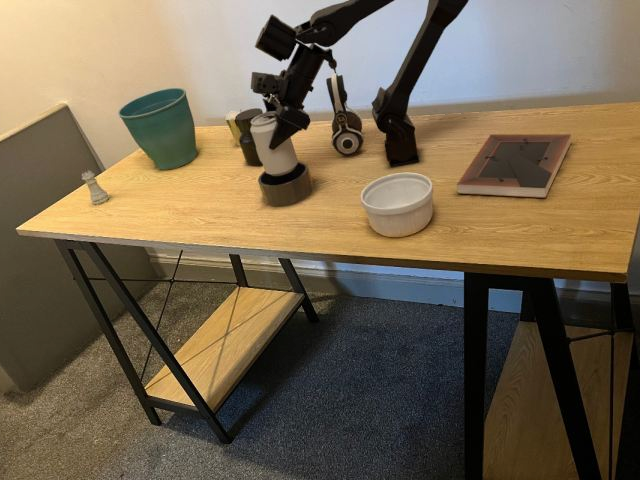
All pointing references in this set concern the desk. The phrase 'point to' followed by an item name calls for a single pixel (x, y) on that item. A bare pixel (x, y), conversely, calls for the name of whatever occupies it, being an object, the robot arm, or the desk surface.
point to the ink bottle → (248, 136)
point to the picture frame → (515, 165)
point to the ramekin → (398, 203)
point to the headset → (343, 118)
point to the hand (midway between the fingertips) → (266, 143)
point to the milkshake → (233, 125)
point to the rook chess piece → (95, 188)
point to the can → (276, 159)
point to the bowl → (286, 186)
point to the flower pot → (162, 127)
